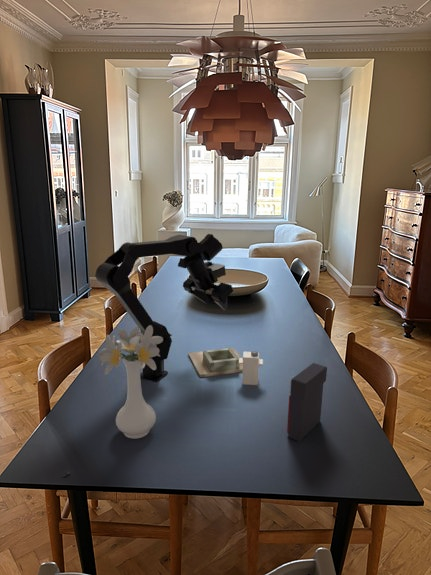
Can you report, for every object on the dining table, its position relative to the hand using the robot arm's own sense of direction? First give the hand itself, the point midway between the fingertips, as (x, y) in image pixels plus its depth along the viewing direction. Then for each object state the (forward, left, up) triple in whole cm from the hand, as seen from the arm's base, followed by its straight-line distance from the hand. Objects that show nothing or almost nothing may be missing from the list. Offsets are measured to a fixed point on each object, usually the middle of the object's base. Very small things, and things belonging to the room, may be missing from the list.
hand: (216, 306), depth 137 cm
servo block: (-13, -19, -16) cm, 28 cm away
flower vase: (-48, -5, -17) cm, 51 cm away
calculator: (-28, -40, -17) cm, 51 cm away
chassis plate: (-7, -4, -16) cm, 18 cm away
